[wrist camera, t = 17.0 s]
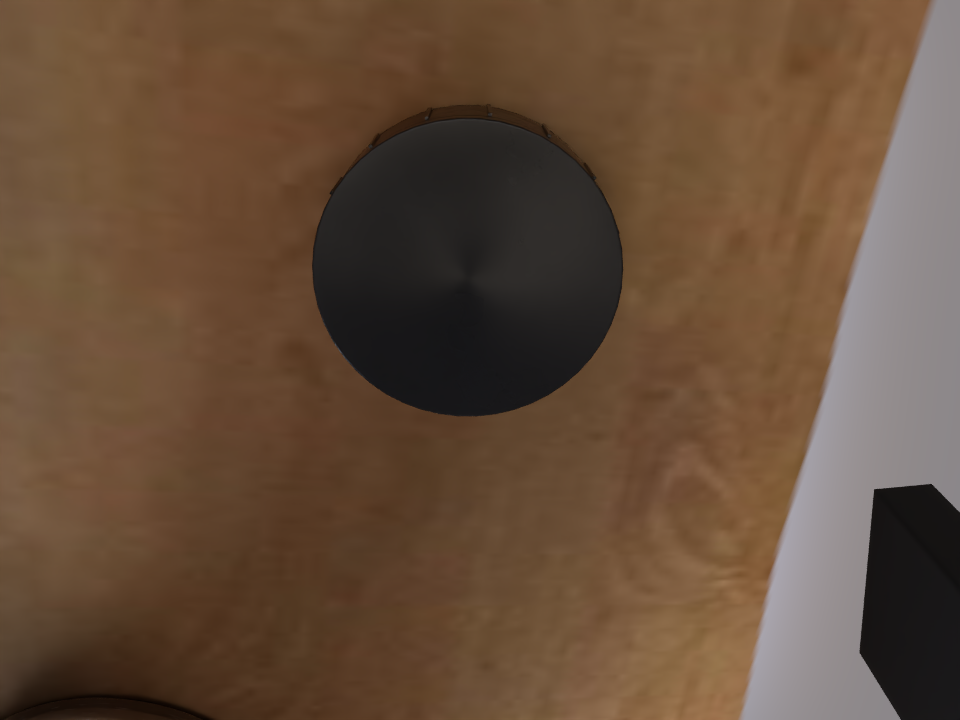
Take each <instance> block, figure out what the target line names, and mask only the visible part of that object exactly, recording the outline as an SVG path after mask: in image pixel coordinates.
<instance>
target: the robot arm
mask: <svg viewBox="0 0 960 720" xmlns="http://www.w3.org/2000/svg"><path fill="white" fill-rule="evenodd" d="M863 609H864V610H863V619H862V631H861V642H860V654H861V656H862V657H863V659H864V661H865V662H866V664H867V665H868V667H869V669H870V670H871V672H872V673H873V675H874V677H875V678H876V680H877V682H878V683H879V685H880V686H881V688H882V690H883V691H884V693H885V695H886V696H887V698H888V699H889V701H890V702H891V704H892V706H893V707H894V709H895V711H896V712H897V714H898V715H899V717H900V719H901V720H960V512H959V511H958V510H956V508H955V507H954V506H953V505H952V504H951V503H950V502H949V501H948V500H947V499H946V498H945V497H944V496H943V495H942V494H941V493H940V492H939V491H938V490H937V489H936V488H935V487H934V486H933V485H932V484H927V485H917V486H905V487H894V488H884V489H874V498H873V509H872V519H871V531H870V542H869V553H868V564H867V575H866V587H865V597H864V608H863ZM4 720H202V719H200V718H198V717H195V716H192V715H190V714H187V713H184V712H182V711H179V710H175V709H172V708H169V707H165V706H161V705H157V704H152V703H148V702H143V701H136V700H129V699H118V698H79V699H69V700H62V701H56V702H51V703H47V704H43V705H39V706H35V707H32V708H29V709H27V710H24V711H21V712H18V713H16V714H14V715H12V716H10V717H8V718H5V719H4Z"/></svg>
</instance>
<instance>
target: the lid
mask: <svg viewBox="0 0 960 720" xmlns="http://www.w3.org/2000/svg"><path fill="white" fill-rule="evenodd" d="M595 179H596V177H595V176H594V174H593V173H592V171H591V170H590V168H589V167H588V165H587V164H586V163H584V164H583V163H582V162H581V161H580V159H579V158H578V157H577V155H576V154H575V153H574V152H573V151H572V150H571V149H570V148H569V147H568V146H567V145H566V144H565V143H564V142H563V141H562V140H561V139H559V138H558V137H557V136H556V135H554V134H553V133H552V132H551V131H549V130H548V128H547V127H546V125H545V124H542V126H541V125H539V124H538V123H536V122H535V121H532V120H530V119H528V118H526V117H523V116H521V115H519V114H516V113H513V112H509V111H506V110H502V109H499V108H493V107H491V105H490V104H487V107H486V106H479V105H457V106H449V107H441V108H437V109H433V110H432V108H428V109H427V111H426V112H422V113H419V114H417V115H415V116H412V117H410V118H407V119H405V120H403V121H401V122H400V123H398V124H396V125H394V126H393V127H391V128H389V129H388V130H386V131H385V132H384V133H382V134H381V135H379V133H378V134H377V135H376V136H375V137H374V139H373V140H372V142H371V143H370V144H369V145H368V147H367V148H366V149H365V150H364V151H363V152H362V153H361V154H360V155H359V156H358V158H357V159H356V160H355V162H354V163H353V164H352V166H351V167H350V169H349V170H348V171H347V173H346V174H345V176H344V177H343V178H342V177H341V178H340V179H339V181H338V182H337V183H336V185H335V186H334V188H333V189H332V190H331V192H330V194H331V197H330V199H329V201H328V203H327V205H326V207H325V208H324V211H323V214H322V217H321V220H320V222H319V225H318V228H317V233H316V238H315V243H314V248H313V263H312V270H313V285H314V291H315V295H316V300H317V305H318V308H319V311H320V314H321V317H322V319H323V322H324V325H325V327H326V328H327V330H328V332H329V334H330V336H331V338H332V340H333V342H334V343H335V345H336V346H337V348H338V349H339V351H340V352H341V354H342V355H343V356H344V358H345V359H346V360H347V361H348V362H349V363H350V364H351V366H352V367H353V368H354V369H355V370H356V371H357V372H358V373H359V374H360V375H362V376H363V377H364V378H365V379H366V380H367V381H368V382H369V383H371V384H372V385H374V386H375V387H377V388H378V389H380V390H381V391H382V392H384V393H385V394H387V395H389V396H391V397H393V398H395V399H397V400H399V401H401V402H402V403H405V404H408V405H410V406H413V407H416V408H418V409H421V410H425V411H429V412H433V413H438V414H444V415H452V416H484V415H492V414H498V413H503V412H507V411H511V410H515V409H518V408H520V407H523V406H526V405H529V404H531V403H533V402H535V401H537V400H539V399H541V398H543V397H545V396H547V395H549V394H551V393H552V392H554V391H555V390H557V389H558V388H560V387H561V386H563V385H564V384H565V383H566V382H568V381H569V380H570V379H571V378H572V377H573V376H574V375H576V374H577V373H578V372H579V371H580V370H581V369H582V368H583V367H584V365H585V364H586V363H587V362H588V361H589V360H590V359H591V358H592V356H593V355H594V353H595V352H596V350H597V349H598V348H599V346H600V345H601V343H602V342H603V340H604V338H605V336H606V334H607V332H608V330H609V328H610V326H611V324H612V321H613V318H614V316H615V313H616V310H617V307H618V303H619V298H620V293H621V289H622V277H623V258H622V247H621V242H620V237H619V230H618V228H617V225H616V222H615V219H614V216H613V213H612V211H611V209H610V207H609V205H608V203H607V201H606V199H605V197H604V195H603V193H602V191H601V190H600V188H599V187H598V185H597V184H596V182H595V181H594V180H595Z"/></svg>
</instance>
